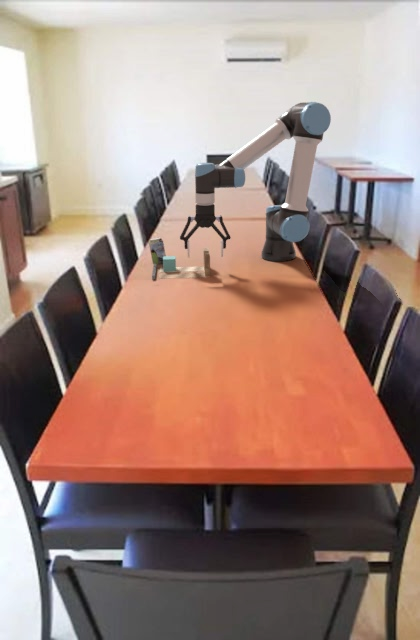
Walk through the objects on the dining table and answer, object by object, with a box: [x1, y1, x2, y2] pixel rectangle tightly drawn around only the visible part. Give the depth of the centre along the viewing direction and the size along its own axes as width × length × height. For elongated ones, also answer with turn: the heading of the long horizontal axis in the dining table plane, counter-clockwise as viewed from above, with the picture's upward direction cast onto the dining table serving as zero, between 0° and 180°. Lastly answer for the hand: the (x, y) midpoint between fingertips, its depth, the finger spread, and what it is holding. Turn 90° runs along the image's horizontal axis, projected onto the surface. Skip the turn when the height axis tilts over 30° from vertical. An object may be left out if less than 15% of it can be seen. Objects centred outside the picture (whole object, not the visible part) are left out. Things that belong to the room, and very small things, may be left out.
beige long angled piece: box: [159, 247, 210, 273], centre depth 230 cm, size 20×7×9 cm, turn 93°
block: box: [162, 255, 177, 273], centre depth 230 cm, size 5×5×5 cm
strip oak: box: [158, 252, 211, 280], centre depth 221 cm, size 20×7×9 cm, turn 93°
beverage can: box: [148, 236, 167, 266], centre depth 240 cm, size 6×7×12 cm
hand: (205, 256), depth 229 cm, fingers open, 13 cm apart
